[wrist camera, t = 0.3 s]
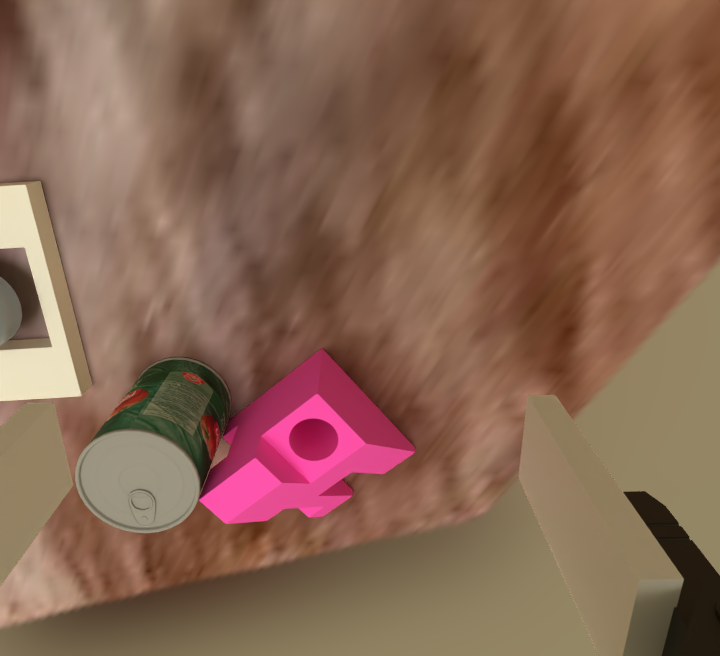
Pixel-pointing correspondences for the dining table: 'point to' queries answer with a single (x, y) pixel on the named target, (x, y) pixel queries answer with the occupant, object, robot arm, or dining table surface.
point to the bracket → (301, 446)
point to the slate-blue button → (8, 312)
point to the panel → (64, 347)
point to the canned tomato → (156, 447)
